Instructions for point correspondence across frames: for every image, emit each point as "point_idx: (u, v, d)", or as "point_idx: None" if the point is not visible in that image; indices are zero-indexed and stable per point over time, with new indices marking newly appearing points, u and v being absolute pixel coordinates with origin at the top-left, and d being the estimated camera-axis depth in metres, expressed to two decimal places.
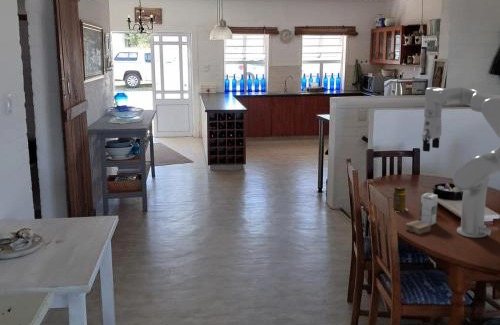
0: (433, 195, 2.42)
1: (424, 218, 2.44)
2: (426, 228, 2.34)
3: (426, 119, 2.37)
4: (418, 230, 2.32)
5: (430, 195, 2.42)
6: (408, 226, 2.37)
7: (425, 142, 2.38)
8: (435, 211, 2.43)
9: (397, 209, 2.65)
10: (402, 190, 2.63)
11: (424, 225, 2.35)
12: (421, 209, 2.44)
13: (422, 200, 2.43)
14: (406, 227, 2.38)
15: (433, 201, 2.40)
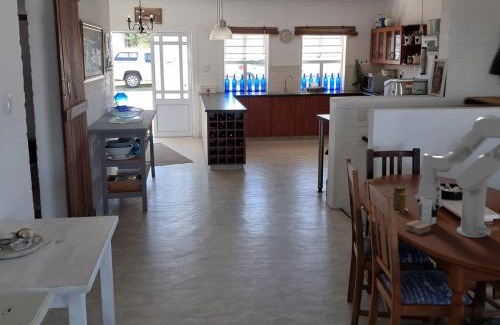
0: None
1: (423, 218, 2.44)
2: (426, 228, 2.34)
3: (436, 185, 2.37)
4: (418, 230, 2.32)
5: None
6: (408, 226, 2.37)
7: (437, 209, 2.40)
8: None
9: (397, 209, 2.65)
10: (402, 190, 2.63)
11: (424, 225, 2.35)
12: (421, 209, 2.44)
13: (422, 200, 2.43)
14: (406, 227, 2.38)
15: None
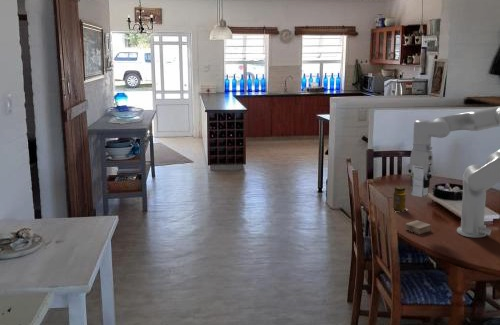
0: None
1: (415, 189, 2.32)
2: (426, 228, 2.34)
3: (428, 154, 2.25)
4: (418, 230, 2.32)
5: None
6: (408, 226, 2.37)
7: (429, 179, 2.28)
8: None
9: (397, 209, 2.65)
10: (402, 190, 2.63)
11: (424, 225, 2.35)
12: (412, 179, 2.32)
13: (413, 170, 2.31)
14: (406, 227, 2.38)
15: None
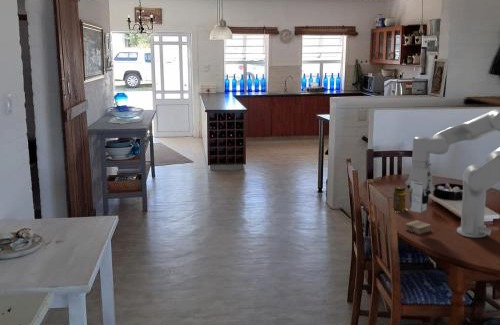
0: None
1: (414, 205, 2.33)
2: (426, 228, 2.34)
3: (427, 170, 2.27)
4: (418, 230, 2.32)
5: None
6: (408, 226, 2.37)
7: (428, 195, 2.30)
8: None
9: (397, 209, 2.65)
10: (402, 190, 2.63)
11: (424, 225, 2.35)
12: (411, 195, 2.33)
13: (412, 186, 2.32)
14: (406, 227, 2.38)
15: None
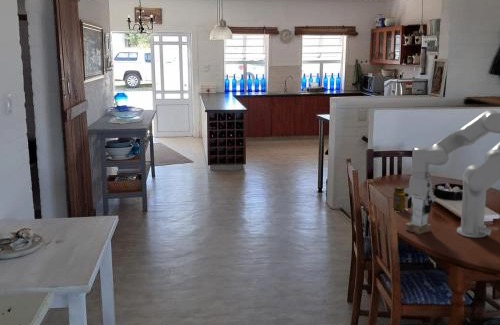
0: None
1: (414, 219, 2.35)
2: (426, 228, 2.34)
3: (426, 181, 2.28)
4: (418, 230, 2.32)
5: None
6: (408, 226, 2.37)
7: (430, 204, 2.29)
8: None
9: (397, 209, 2.65)
10: (402, 190, 2.63)
11: (424, 225, 2.35)
12: (412, 209, 2.35)
13: (413, 200, 2.34)
14: (406, 227, 2.38)
15: None
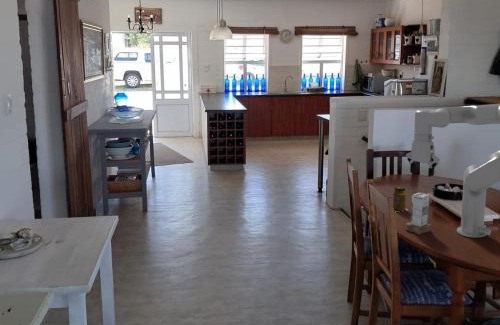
0: (424, 195, 2.32)
1: (414, 219, 2.35)
2: (426, 228, 2.34)
3: (430, 143, 2.27)
4: (418, 230, 2.32)
5: (422, 194, 2.33)
6: (408, 226, 2.37)
7: None
8: (426, 212, 2.34)
9: (397, 209, 2.65)
10: (402, 190, 2.63)
11: (424, 225, 2.35)
12: (412, 209, 2.35)
13: (413, 200, 2.34)
14: (406, 227, 2.38)
15: (424, 201, 2.31)
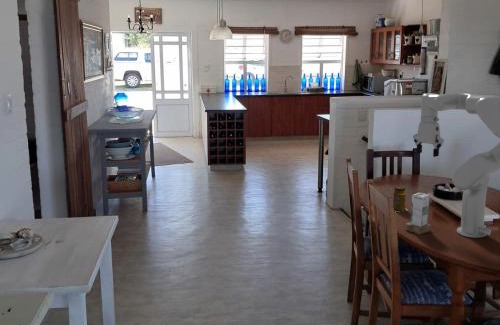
0: (424, 195, 2.32)
1: (414, 219, 2.35)
2: (426, 228, 2.34)
3: (435, 125, 2.39)
4: (418, 230, 2.32)
5: (422, 194, 2.33)
6: (408, 226, 2.37)
7: (438, 147, 2.40)
8: (426, 212, 2.34)
9: (397, 209, 2.65)
10: (402, 190, 2.63)
11: (424, 225, 2.35)
12: (412, 209, 2.35)
13: (413, 200, 2.34)
14: (406, 227, 2.38)
15: (424, 201, 2.31)
